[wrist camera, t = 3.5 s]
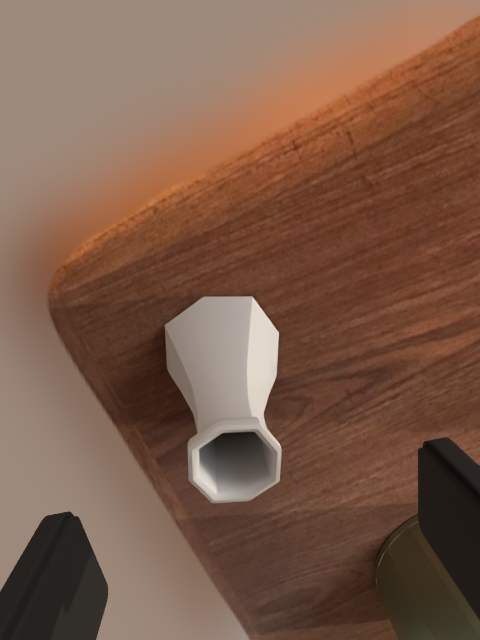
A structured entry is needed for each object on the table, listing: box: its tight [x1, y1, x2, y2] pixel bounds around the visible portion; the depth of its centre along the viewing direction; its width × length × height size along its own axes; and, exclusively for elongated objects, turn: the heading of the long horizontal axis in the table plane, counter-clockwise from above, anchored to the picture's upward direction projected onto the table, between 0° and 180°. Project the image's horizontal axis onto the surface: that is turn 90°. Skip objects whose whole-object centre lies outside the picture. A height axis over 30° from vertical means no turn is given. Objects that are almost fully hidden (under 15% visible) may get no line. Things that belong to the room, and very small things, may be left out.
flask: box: [165, 297, 282, 503], centre depth 15 cm, size 7×7×10 cm
